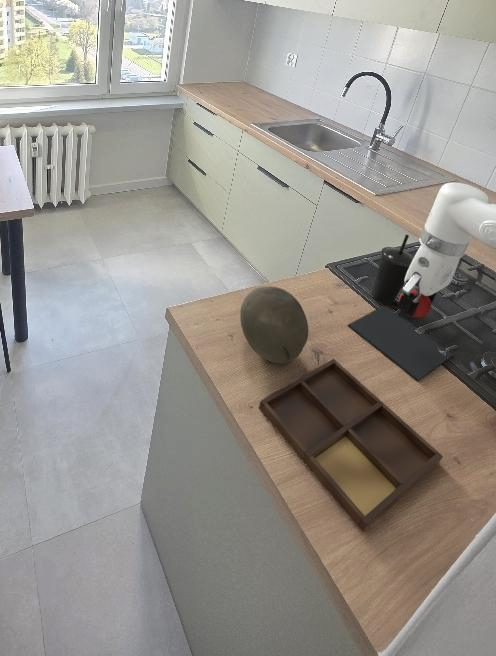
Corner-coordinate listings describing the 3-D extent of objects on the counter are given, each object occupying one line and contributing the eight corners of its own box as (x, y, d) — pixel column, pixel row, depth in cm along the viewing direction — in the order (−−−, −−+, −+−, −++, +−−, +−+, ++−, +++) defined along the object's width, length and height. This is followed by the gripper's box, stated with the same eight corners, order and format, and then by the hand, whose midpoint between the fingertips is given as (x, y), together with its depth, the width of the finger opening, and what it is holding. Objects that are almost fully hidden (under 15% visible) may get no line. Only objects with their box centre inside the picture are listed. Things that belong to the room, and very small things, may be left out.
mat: (453, 356, 93) (454, 354, 93) (417, 381, 87) (418, 379, 87) (382, 307, 106) (383, 305, 106) (347, 326, 100) (348, 324, 100)
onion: (400, 302, 97) (412, 275, 94) (428, 318, 93) (442, 290, 90) (389, 312, 94) (401, 285, 91) (418, 330, 90) (431, 302, 87)
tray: (438, 463, 73) (443, 456, 72) (362, 531, 64) (366, 524, 63) (331, 365, 90) (333, 358, 89) (258, 407, 81) (260, 400, 80)
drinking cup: (394, 314, 104) (421, 249, 96) (361, 296, 109) (384, 234, 101) (403, 299, 109) (429, 236, 101) (371, 283, 114) (394, 222, 106)
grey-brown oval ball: (305, 342, 95) (321, 291, 89) (292, 389, 84) (309, 336, 78) (244, 314, 102) (255, 265, 96) (225, 355, 91) (235, 303, 85)
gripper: (440, 263, 78) (408, 333, 86) (485, 240, 86) (452, 306, 93) (400, 241, 84) (373, 307, 92) (445, 221, 92) (417, 284, 99)
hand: (413, 306), depth 92 cm, fingers closed on onion, 6 cm apart
